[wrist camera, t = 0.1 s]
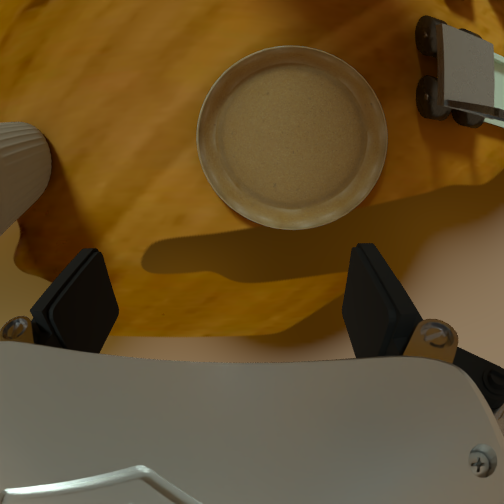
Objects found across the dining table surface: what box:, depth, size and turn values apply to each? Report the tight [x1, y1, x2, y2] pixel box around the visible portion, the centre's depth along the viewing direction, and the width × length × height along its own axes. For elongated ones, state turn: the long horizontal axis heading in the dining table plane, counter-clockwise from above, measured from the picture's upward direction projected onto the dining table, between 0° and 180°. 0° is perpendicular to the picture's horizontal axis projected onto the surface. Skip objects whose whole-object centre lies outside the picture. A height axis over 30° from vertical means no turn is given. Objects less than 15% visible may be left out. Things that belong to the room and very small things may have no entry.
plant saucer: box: [197, 46, 388, 230], centre depth 37 cm, size 24×24×3 cm
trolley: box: [415, 15, 504, 128], centre depth 24 cm, size 15×9×18 cm, turn 1°
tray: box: [484, 53, 504, 128], centre depth 30 cm, size 12×12×2 cm
